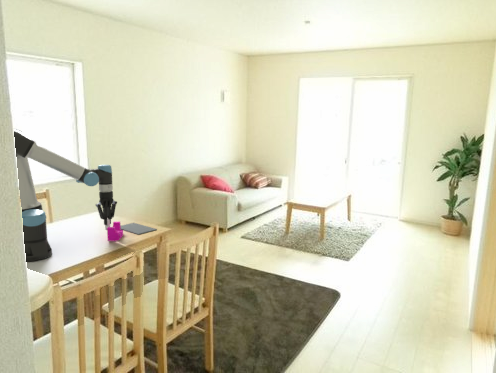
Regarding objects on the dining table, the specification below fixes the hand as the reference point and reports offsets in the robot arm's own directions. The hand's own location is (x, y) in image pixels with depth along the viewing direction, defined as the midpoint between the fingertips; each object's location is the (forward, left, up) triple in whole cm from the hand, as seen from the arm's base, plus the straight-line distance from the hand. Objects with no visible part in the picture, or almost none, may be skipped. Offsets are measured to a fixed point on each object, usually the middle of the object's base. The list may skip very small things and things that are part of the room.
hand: (107, 229), depth 218 cm
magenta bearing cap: (+2, -5, -4) cm, 7 cm away
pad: (+20, 0, -4) cm, 20 cm away
